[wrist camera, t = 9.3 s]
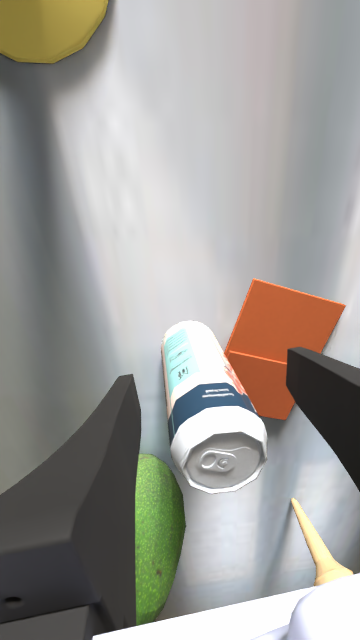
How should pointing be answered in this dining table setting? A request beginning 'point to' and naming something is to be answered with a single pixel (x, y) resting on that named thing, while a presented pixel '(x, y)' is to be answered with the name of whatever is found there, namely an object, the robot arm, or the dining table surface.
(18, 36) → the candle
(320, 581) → the ice cream cone
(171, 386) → the beer can
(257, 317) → the orange stepped block
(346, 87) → the dining table surface
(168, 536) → the avocado
